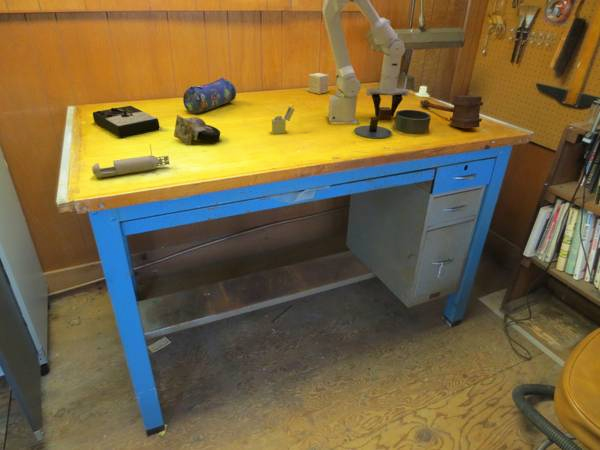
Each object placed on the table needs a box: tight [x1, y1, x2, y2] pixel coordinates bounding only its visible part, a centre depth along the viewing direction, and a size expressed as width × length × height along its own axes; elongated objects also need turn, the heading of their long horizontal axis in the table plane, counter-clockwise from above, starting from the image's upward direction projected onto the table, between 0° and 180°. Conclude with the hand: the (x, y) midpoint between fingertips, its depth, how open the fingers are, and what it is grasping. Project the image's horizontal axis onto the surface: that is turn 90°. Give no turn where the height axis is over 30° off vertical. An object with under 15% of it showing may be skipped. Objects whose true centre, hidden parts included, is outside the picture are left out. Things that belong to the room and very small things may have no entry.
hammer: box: [420, 95, 484, 129], centre depth 153 cm, size 7×33×10 cm, turn 16°
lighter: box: [271, 106, 295, 135], centre depth 133 cm, size 7×2×8 cm, turn 112°
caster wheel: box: [173, 114, 221, 146], centre depth 125 cm, size 7×11×10 cm
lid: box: [353, 117, 393, 140], centre depth 135 cm, size 12×12×5 cm
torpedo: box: [91, 144, 170, 179], centre depth 103 cm, size 18×5×7 cm, turn 118°
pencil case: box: [182, 77, 237, 115], centre depth 153 cm, size 22×9×10 cm, turn 150°
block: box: [377, 106, 392, 121], centre depth 149 cm, size 4×4×4 cm
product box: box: [308, 72, 330, 95], centre depth 180 cm, size 6×6×7 cm
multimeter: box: [92, 105, 160, 139], centre depth 133 cm, size 13×19×5 cm
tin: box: [393, 109, 432, 135], centre depth 139 cm, size 11×11×5 cm
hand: (384, 115), depth 149 cm, fingers open, 5 cm apart
